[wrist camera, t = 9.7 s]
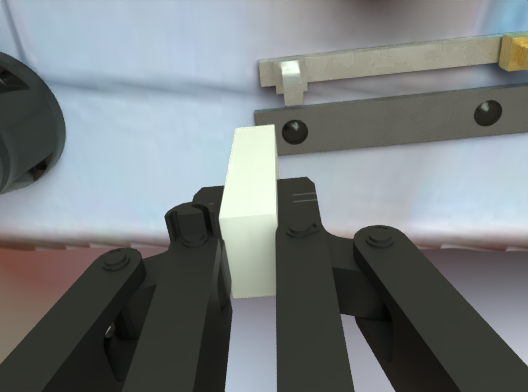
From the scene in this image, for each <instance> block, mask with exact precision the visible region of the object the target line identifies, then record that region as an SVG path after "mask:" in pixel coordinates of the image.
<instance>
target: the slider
mask: <svg viewBox="0 0 528 392" xmlns="http://www.w3.org/2000/svg"><path fill="white" fill-rule="evenodd" d="M499 67H501V68H503V69H505V70H506V71H517V70H526V69H528V31H527V32H517V33H508V34H503V38H502V46H501V53H500V60H499Z"/></svg>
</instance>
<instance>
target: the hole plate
mask: <svg viewBox="0 0 528 392" xmlns="http://www.w3.org/2000/svg"><path fill="white" fill-rule="evenodd" d="M255 120H256V126H264V125H274V126H275V136H276V146H277V156H279V155H289V154H300V153H310V152H321V151H331V150H342V149H353V148H363V147H374V146H384V145H395V144H405V143H416V142H426V141H437V140H448V139H458V138H469V137H479V136H490V135H500V134H511V133H522V132H528V83H521V84H511V85H501V86H491V87H481V88H472V89H462V90H452V91H442V92H432V93H422V94H412V95H402V96H393V97H383V98H373V99H363V100H353V101H343V102H333V103H323V104H314V105H304V106H294V107H284V108H274V109H264V110H255Z"/></svg>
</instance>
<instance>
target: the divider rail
mask: <svg viewBox="0 0 528 392" xmlns="http://www.w3.org/2000/svg"><path fill="white" fill-rule="evenodd" d="M520 32H527V31H520ZM510 33H517V32H510ZM503 34H508V33H501V34H492V35H483V36H473V37H464V38H455V39H446V40H437V41H427V42H418V43H409V44H400V45H390V46H381V47H372V48H363V49H353V50H344V51H335V52H326V53H316V54H307V55H298V56H289V57H279V58H270V59H261V60H259V72H260V81H261V87H267V86H276V93H277V94H284V101H285V106H291V105H300V104H304V98H303V92H304V91H308V88H307V82H315V81H325V80H334V79H344V78H353V77H363V76H373V75H382V74H392V73H401V72H411V71H420V70H430V69H440V68H449V67H459V66H468V65H478V64H487V63H497V62H499V60H500V53H501V46H502V38H503Z"/></svg>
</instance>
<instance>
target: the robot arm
mask: <svg viewBox="0 0 528 392" xmlns="http://www.w3.org/2000/svg"><path fill="white" fill-rule="evenodd" d="M64 143H65V123H64V118H63V114H62V111H61V109H60V106H59V104H58V102H57V100H56V98H55V96H54V95H53V93H52V92H51V90H50V89H49V87H48V86H47V85H46V84H45V82H44V81H43V80H42V79H41V78H40V77H39V76H38V75H37V74H36V73H35V72H34V71H32V70H31V69H30V68H29V67H27V66H26V65H25V64H23V63H22V62H20V61H18V60H17V59H15V58H13V57H11V56H9V55H7V54H5V53H2V52H0V195H1V194H4V193H7V192H10V191H13V190H17V189H20V188H23V187H26V186H28V185H30V184H32V183H34V182H36V181H37V180H39V179H40V178H42V177H43V176H44V175H45V174H46V173H47V172H48V171H49V170H50V169H51V168H52V167H53V166H54V165H55V163H56V162H57V161H58V159H59V157H60V155H61V153H62V151H63V148H64ZM164 217H165V221H166V225H167V229H168V233H169V237H170V241H171V243H170V246H169V249H168V251H166V252H164V253H161V254H158V255H155V256H151V257H148V258H144V259H142V256H141V253H140V252H139V251H138V250H137V249H133V248H118V249H114V250H111V251H109V252H107V253H105V254H103V255H101V256H100V257H98V258H97V259H96V260H95V261H94V262H93V263H92V264H91V265H90V266H89V267H88V268H87V270H86V271H85V272H84V273H83V274H82V275H81V276H80V277H79V278H78V279H77V281H76V282H75V283H74V284H73V285H72V286H71V287H70V288H69V289H68V291H67V292H66V293H65V294H64V295H63V296H62V297H61V298H60V299H59V300H58V301H57V303H56V304H55V305H54V306H53V307H52V308H51V309H50V310H49V311H48V312H47V314H46V315H45V316H44V317H43V318H42V319H41V320H40V321H39V322H38V323H37V325H36V326H35V327H34V328H33V329H32V330H31V331H30V332H29V333H28V334H27V336H26V337H25V338H24V339H23V340H22V341H21V342H20V343H19V344H18V346H17V347H16V348H15V349H14V350H13V351H12V352H11V353H10V354H9V355H8V357H7V358H6V359H5V360H4V361H3V362H2V363H1V364H0V392H225V382H226V372H227V362H228V352H229V342H230V341H229V340H230V332H231V321H232V306H231V300H230V293H231V288H232V293H233V298H245V297H259V296H273V295H276V332H277V334H276V336H277V337H276V338H277V392H355V391H354V386H353V381H352V375H351V370H350V364H349V359H348V353H347V348H346V342H345V337H344V331H343V327H342V320H341V315H340V314H346V315H351V316H355V320H356V323H357V325H358V327H359V329H360V331H361V332H362V334H363V336H364V338H365V339H366V341H367V343H368V344H369V346H370V348H371V349H372V352H373V353H374V355H375V357H376V358H377V360H378V362H379V364H380V365H381V367H382V369H383V370H384V372H385V374H386V376H387V378H388V379H389V381H390V383H391V385H392V386H393V388H394V390H395V391H396V392H528V366H527V365H526V364H525V363H524V362H523V361H522V360H521V359H520V358H519V356H518V355H517V354H516V353H515V352H514V351H513V350H512V349H511V348H510V347H509V346H508V345H507V344H506V343H505V341H504V340H503V339H502V338H501V337H500V336H499V335H498V334H497V333H496V332H495V331H494V330H493V329H492V327H491V326H490V325H489V324H488V323H487V322H486V321H485V320H484V319H483V318H482V317H481V316H480V315H479V314H478V313H477V311H476V310H475V309H474V308H473V307H472V306H471V305H470V304H469V303H468V302H467V301H466V300H465V299H464V297H463V296H462V295H461V294H460V293H459V292H458V291H457V290H456V289H455V288H454V287H453V286H452V285H451V284H450V282H449V281H448V280H447V279H446V278H445V277H444V276H443V275H442V274H441V273H440V272H439V271H438V269H436V268H435V266H434V265H433V264H432V263H431V262H430V261H429V260H428V259H427V258H426V257H425V256H424V254H423V253H422V252H421V251H420V250H419V249H418V248H417V247H416V246H415V245H414V244H413V243H412V242H411V240H410V239H409V238H408V237H407V236H406V235H405V234H404V233H402V232H401V231H400V230H398V229H396V228H393V227H390V226H384V225H375V226H368V227H365V228H362V229H360V230H359V231H358V232H357V233H355V235H354V238H353V239H348V238H342V237H338V236H335V235H332V234H330V233H329V232H327V231H326V230H325V229H324V227H323V225H322V223H321V217H320V212H319V206H318V201H317V195H316V190H315V184H314V183H313V182H312V181H311V180H310V179H309V178H307V177H300V178H289V179H280V175H279V165H278V156H277V146H276V136H275V126H274V125H264V126H253V127H243V128H236V129H235V134H234V139H233V145H232V150H231V155H230V161H229V166H228V171H227V177H226V182H225V186H214V187H203V188H201V189H200V190H199V191H198V192H197V193H196V194H195V195H194V197H193V201H192V202H188V203H183V204H180V205H178V206H175V207H174V208H172V209H171V210H169V211H168V212H167V213H166V215H165V216H164ZM109 326H111V328H110V330H109V331H108V332H107V329H108V328H109ZM106 332H107V334H106Z"/></svg>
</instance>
